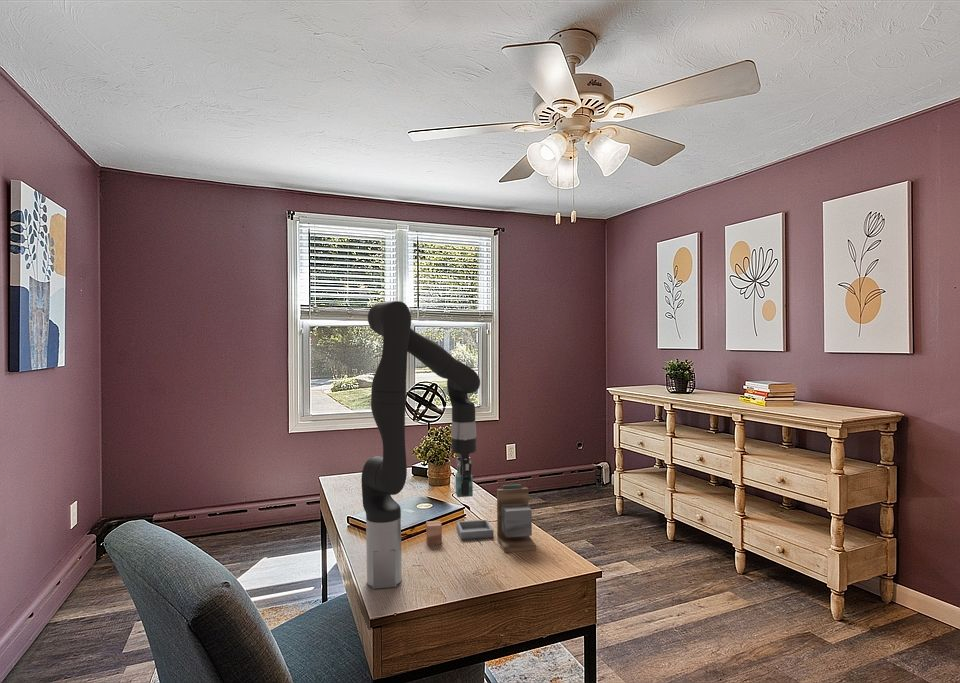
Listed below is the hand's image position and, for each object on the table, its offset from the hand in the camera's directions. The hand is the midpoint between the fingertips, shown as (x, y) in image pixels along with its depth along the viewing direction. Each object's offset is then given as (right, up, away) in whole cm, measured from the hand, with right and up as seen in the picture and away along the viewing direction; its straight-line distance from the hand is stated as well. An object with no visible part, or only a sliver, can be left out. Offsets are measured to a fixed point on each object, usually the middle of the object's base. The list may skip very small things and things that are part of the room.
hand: (463, 492), depth 171 cm
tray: (+3, -18, +18) cm, 26 cm away
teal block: (0, -1, 0) cm, 1 cm away
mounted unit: (+16, -18, +7) cm, 26 cm away
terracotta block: (-10, -19, +11) cm, 24 cm away
